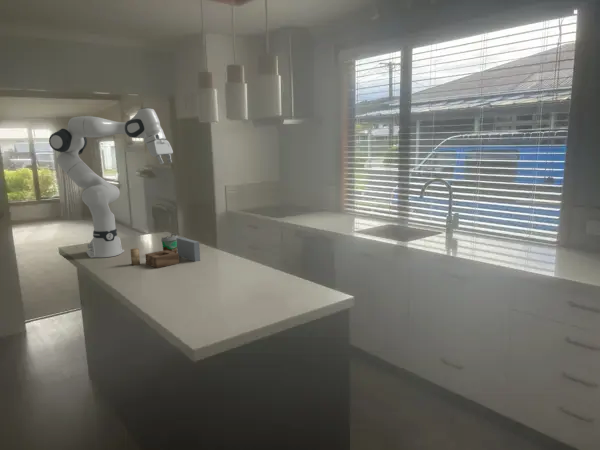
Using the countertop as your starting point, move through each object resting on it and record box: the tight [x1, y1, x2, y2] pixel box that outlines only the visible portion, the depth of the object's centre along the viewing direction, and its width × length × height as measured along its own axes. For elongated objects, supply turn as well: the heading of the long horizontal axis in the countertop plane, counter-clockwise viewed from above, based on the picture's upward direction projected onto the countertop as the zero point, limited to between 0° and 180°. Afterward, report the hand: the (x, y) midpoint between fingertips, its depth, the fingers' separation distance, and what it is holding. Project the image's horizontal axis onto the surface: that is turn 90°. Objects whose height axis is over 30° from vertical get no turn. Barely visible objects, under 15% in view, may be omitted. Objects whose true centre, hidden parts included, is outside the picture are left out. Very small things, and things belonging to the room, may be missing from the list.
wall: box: [177, 236, 201, 262], centre depth 233 cm, size 18×3×10 cm, turn 44°
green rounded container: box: [161, 233, 179, 253], centre depth 245 cm, size 12×6×10 cm, turn 168°
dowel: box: [130, 247, 141, 267], centre depth 223 cm, size 4×4×8 cm
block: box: [144, 250, 180, 269], centre depth 223 cm, size 12×12×5 cm
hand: (166, 163), depth 230 cm, fingers open, 8 cm apart
